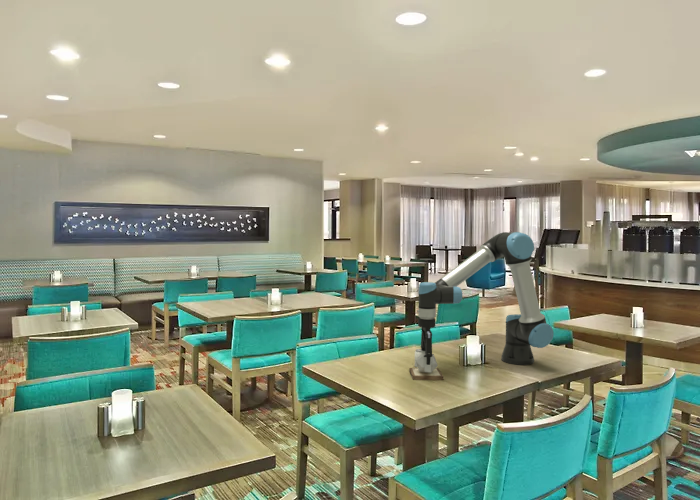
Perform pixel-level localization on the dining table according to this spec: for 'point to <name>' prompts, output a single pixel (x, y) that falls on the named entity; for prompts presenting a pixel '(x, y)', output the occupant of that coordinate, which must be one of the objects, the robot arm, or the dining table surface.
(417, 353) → the shaker
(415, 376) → the board
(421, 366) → the die
